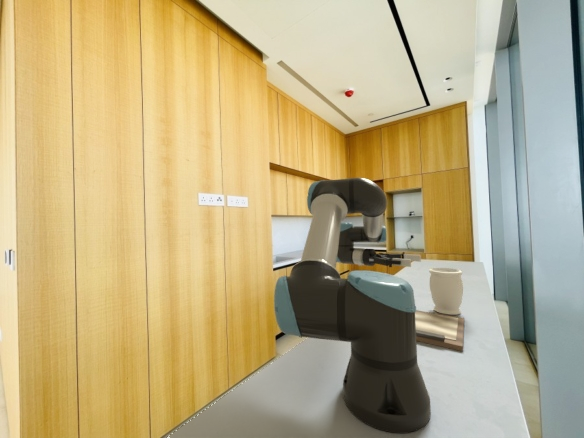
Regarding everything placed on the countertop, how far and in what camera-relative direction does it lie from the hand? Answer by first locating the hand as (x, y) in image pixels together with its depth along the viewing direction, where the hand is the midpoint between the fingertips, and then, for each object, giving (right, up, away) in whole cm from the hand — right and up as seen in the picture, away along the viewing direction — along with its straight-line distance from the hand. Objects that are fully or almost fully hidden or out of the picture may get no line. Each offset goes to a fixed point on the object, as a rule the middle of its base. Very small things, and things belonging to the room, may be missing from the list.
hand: (416, 260), depth 97 cm
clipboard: (-6, -17, -21) cm, 28 cm away
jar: (+8, -17, -7) cm, 20 cm away
